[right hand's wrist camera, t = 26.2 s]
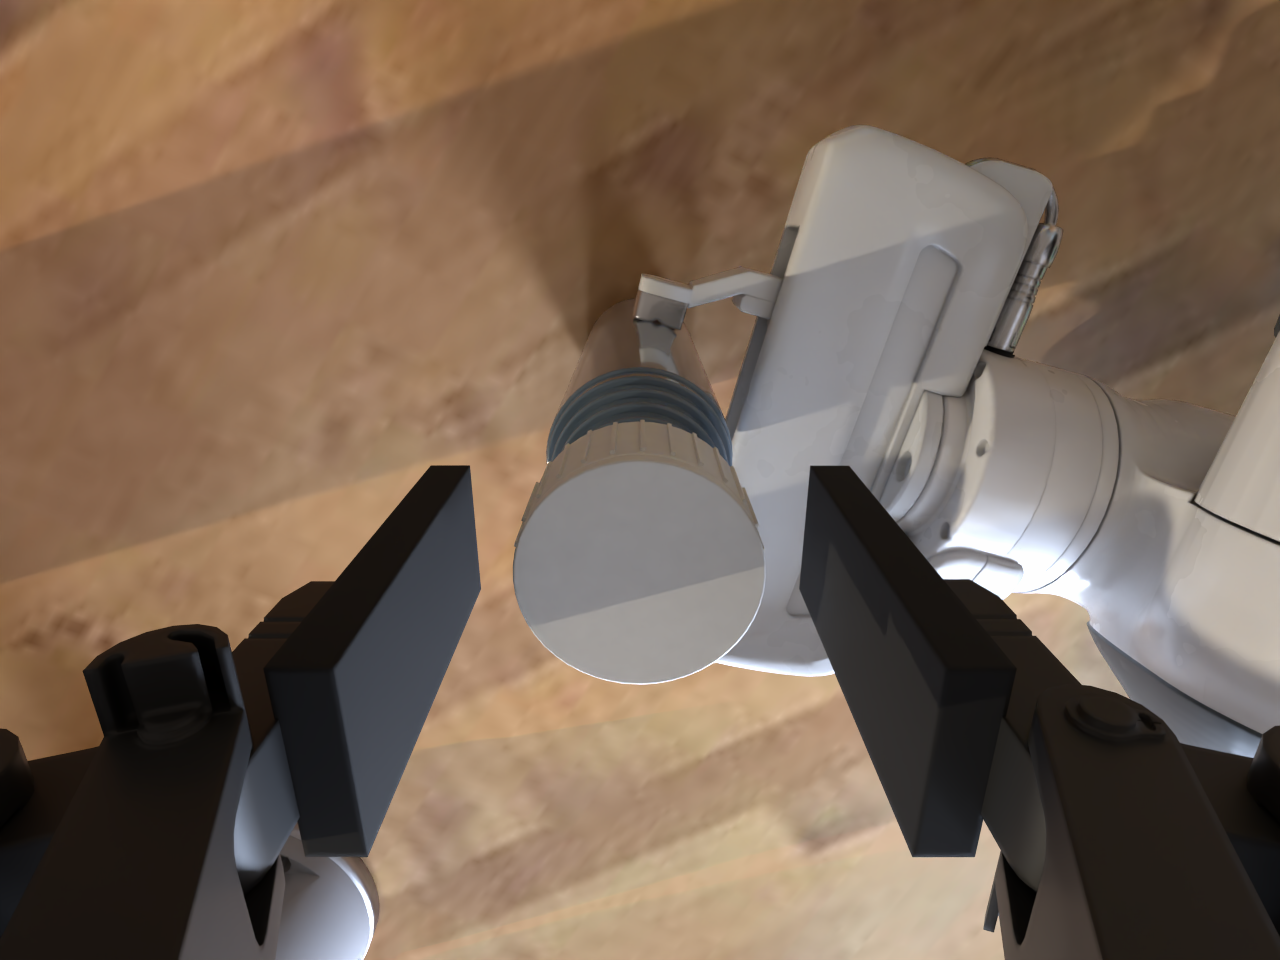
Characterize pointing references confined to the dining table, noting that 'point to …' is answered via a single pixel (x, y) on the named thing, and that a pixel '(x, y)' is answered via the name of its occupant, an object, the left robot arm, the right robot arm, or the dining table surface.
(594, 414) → the bottle
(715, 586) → the cap
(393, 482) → the dining table surface
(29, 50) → the dining table surface
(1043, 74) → the dining table surface
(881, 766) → the right robot arm
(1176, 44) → the dining table surface
